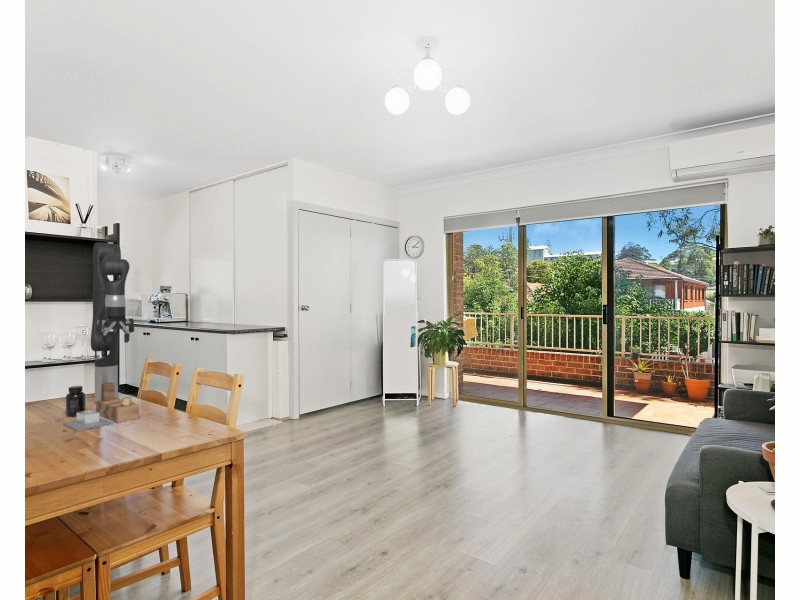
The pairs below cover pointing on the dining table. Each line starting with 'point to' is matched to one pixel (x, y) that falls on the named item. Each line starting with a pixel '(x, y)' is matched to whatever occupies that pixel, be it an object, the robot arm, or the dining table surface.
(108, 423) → the mat
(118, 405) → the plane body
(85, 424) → the white rectangular block
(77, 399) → the supplement bottle
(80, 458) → the dining table surface
